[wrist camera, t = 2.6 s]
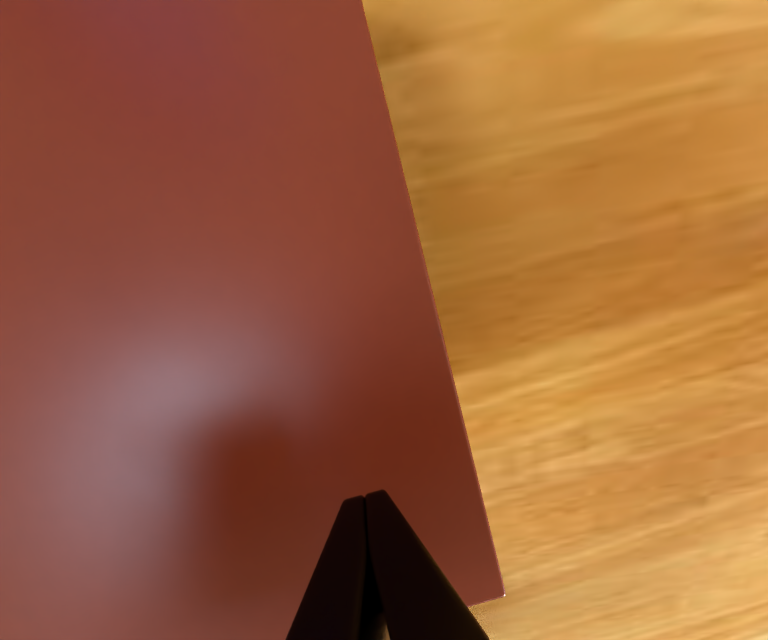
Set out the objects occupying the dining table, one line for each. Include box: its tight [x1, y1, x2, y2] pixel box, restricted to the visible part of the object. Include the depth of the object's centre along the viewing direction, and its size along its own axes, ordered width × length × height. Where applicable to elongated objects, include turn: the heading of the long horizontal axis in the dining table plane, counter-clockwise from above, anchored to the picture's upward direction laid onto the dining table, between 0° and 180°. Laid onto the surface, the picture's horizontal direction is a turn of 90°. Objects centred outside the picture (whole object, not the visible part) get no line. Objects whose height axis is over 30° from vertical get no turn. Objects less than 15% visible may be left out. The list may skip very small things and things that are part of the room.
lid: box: [0, 0, 505, 640], centre depth 9 cm, size 16×13×1 cm
